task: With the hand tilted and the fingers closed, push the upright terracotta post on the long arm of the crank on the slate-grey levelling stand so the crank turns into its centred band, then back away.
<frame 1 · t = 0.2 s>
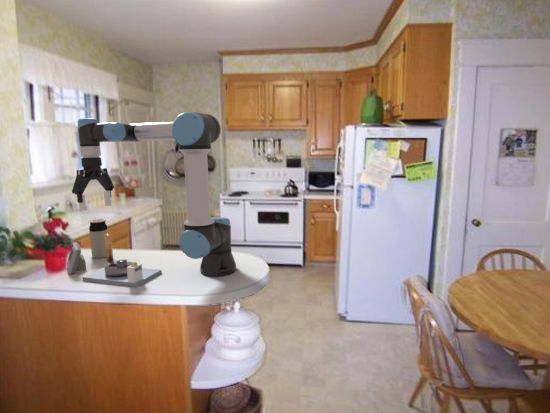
hand: (96, 208, 159), 28 cm above the countertop, tool pointing down, fingers open, 13 cm apart
crank: (116, 253, 157), point 9 cm above the countertop, hinge at -25.0°
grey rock: (75, 269, 167), on the countertop
stand: (123, 276, 156), on the countertop
travel mug: (101, 256, 186), on the countertop
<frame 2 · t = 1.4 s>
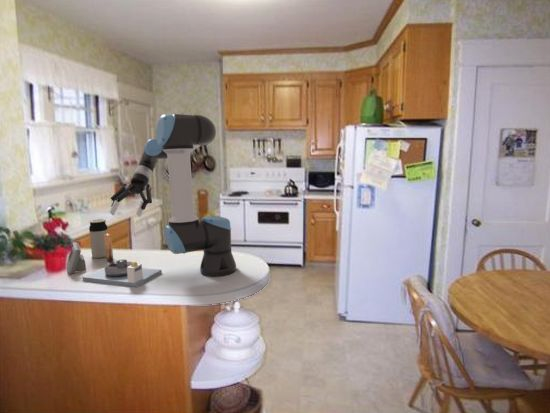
hand: (124, 214, 171), 23 cm above the countertop, tool tilted 45°, fingers open, 13 cm apart
nothing on the countertop moved.
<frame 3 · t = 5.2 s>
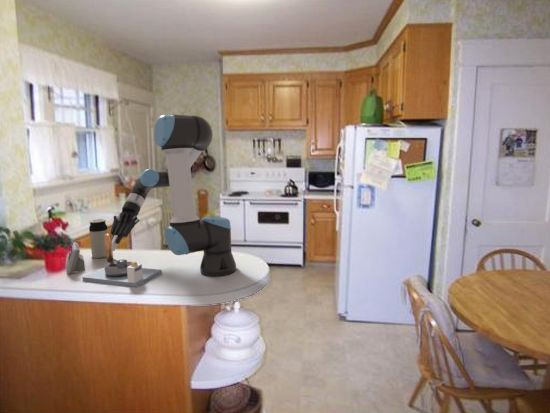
hand: (111, 249, 165), 9 cm above the countertop, tool tilted 45°, fingers closed
crank: (116, 253, 157), point 9 cm above the countertop, hinge at -25.0°, touching gripper
everything else where it was.
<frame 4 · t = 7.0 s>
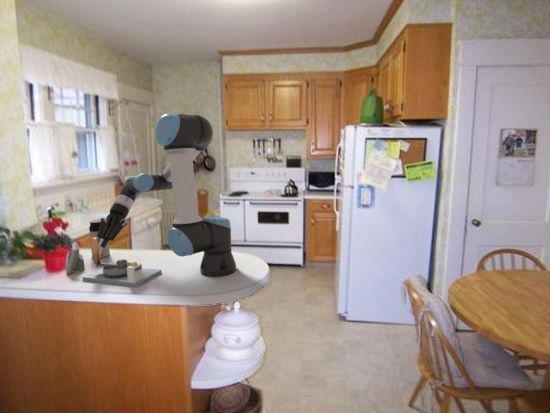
hand: (96, 253, 159), 9 cm above the countertop, tool tilted 45°, fingers closed
crank: (112, 255, 155), point 9 cm above the countertop, hinge at 8.6°, touching gripper
everything else where it was.
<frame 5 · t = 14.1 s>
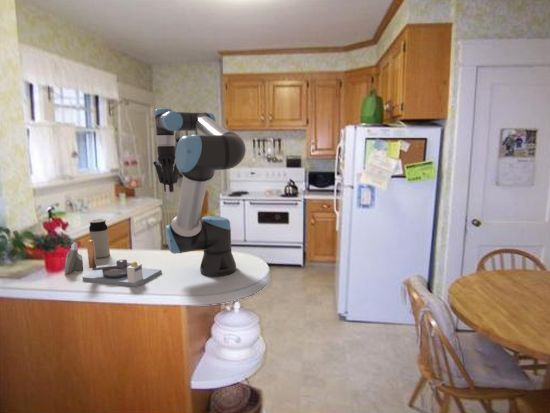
hand: (169, 199, 169), 29 cm above the countertop, tool pointing down, fingers closed
crank: (110, 256, 154), point 9 cm above the countertop, hinge at 32.3°
at the end: crank at +32° (first picture: -25°); crank touching nothing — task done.
